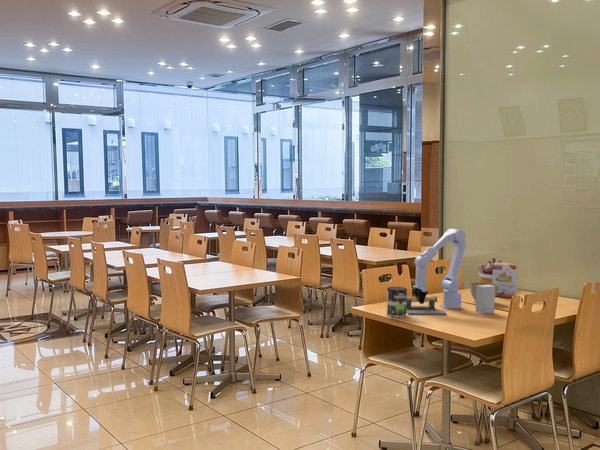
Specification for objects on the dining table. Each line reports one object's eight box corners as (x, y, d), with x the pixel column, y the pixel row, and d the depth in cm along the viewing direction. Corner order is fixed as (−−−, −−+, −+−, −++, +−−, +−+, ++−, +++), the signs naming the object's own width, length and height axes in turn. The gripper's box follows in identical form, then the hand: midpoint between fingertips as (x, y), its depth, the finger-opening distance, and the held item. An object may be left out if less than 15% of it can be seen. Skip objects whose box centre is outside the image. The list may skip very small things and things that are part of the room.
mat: (442, 312, 305) (442, 310, 305) (446, 315, 298) (446, 313, 298) (405, 311, 303) (405, 310, 303) (409, 314, 296) (409, 313, 296)
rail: (435, 301, 314) (435, 296, 314) (437, 302, 311) (437, 297, 311) (403, 301, 313) (403, 296, 313) (404, 302, 310) (404, 297, 310)
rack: (432, 307, 315) (433, 298, 315) (435, 309, 311) (435, 300, 311) (404, 307, 314) (404, 298, 314) (406, 309, 310) (406, 300, 310)
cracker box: (491, 296, 355) (492, 262, 354) (493, 294, 361) (494, 262, 359) (514, 298, 348) (516, 264, 347) (516, 297, 353) (518, 263, 352)
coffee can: (409, 316, 292) (410, 289, 291) (391, 317, 289) (392, 290, 288) (400, 312, 302) (401, 286, 301) (383, 313, 299) (383, 286, 298)
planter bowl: (494, 300, 340) (494, 282, 340) (500, 306, 324) (501, 287, 324) (466, 299, 342) (467, 281, 341) (472, 305, 326) (472, 286, 325)
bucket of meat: (500, 291, 372) (502, 261, 371) (475, 289, 380) (476, 259, 379) (506, 287, 389) (507, 258, 388) (481, 285, 397) (482, 256, 396)
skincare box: (488, 311, 310) (489, 284, 309) (494, 313, 304) (495, 286, 303) (474, 311, 307) (475, 284, 307) (480, 314, 302) (482, 286, 301)
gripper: (410, 275, 318) (409, 299, 319) (417, 280, 304) (416, 305, 305) (422, 276, 319) (421, 299, 320) (430, 280, 304) (429, 305, 305)
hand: (420, 302), depth 312 cm, fingers open, 6 cm apart
